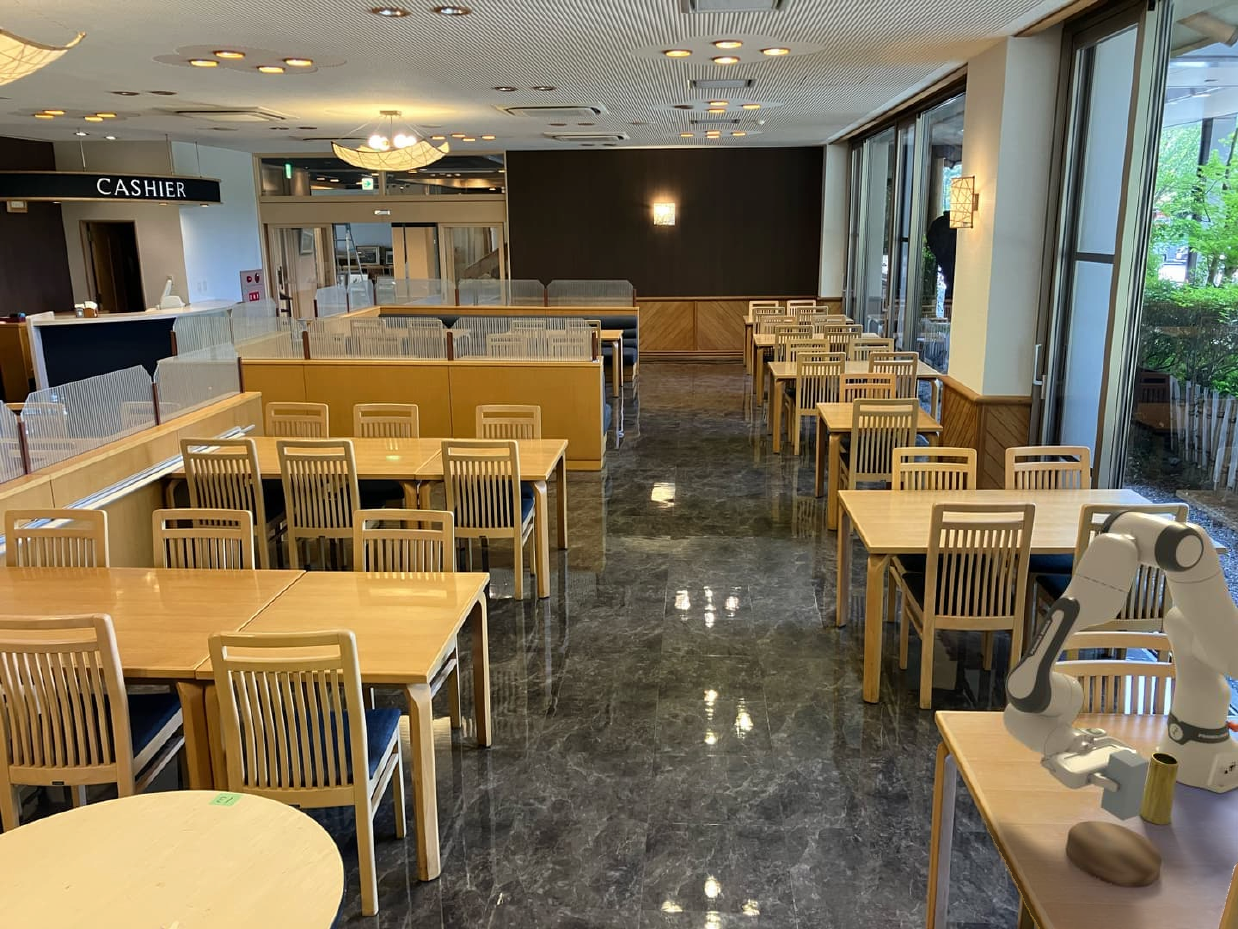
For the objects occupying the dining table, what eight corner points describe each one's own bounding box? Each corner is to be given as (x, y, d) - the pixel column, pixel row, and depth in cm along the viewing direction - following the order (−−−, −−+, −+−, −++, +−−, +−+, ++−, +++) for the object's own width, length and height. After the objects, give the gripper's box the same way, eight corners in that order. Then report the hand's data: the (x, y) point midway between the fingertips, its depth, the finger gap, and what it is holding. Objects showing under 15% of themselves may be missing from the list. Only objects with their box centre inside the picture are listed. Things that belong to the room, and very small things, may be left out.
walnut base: (1115, 828, 209) (1117, 816, 208) (1179, 879, 193) (1181, 866, 192) (1048, 840, 204) (1050, 827, 203) (1107, 893, 188) (1110, 880, 188)
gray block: (1117, 801, 199) (1127, 748, 196) (1139, 815, 195) (1149, 761, 192) (1100, 807, 197) (1109, 754, 194) (1122, 821, 192) (1132, 767, 189)
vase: (1158, 828, 209) (1169, 769, 205) (1132, 812, 214) (1142, 754, 211) (1176, 820, 212) (1187, 762, 208) (1150, 805, 217) (1160, 748, 213)
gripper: (1037, 747, 200) (1094, 782, 188) (1106, 726, 209) (1165, 759, 197) (1033, 774, 202) (1090, 811, 190) (1101, 753, 210) (1160, 787, 198)
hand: (1129, 784), depth 193 cm, fingers closed on gray block, 5 cm apart
